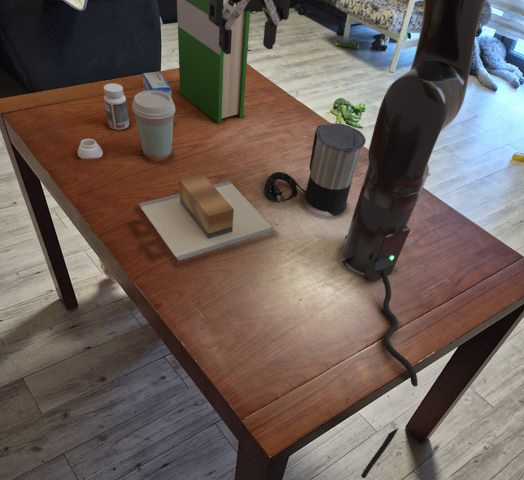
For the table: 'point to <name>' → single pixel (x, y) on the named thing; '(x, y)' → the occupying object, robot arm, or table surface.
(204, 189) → the eraser
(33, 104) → the table surface
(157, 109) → the coffee cup
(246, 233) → the board
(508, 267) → the table surface
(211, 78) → the hardback book
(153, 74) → the medicine box
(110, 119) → the pill bottle
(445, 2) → the robot arm
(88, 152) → the white jar
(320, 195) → the milk frother
